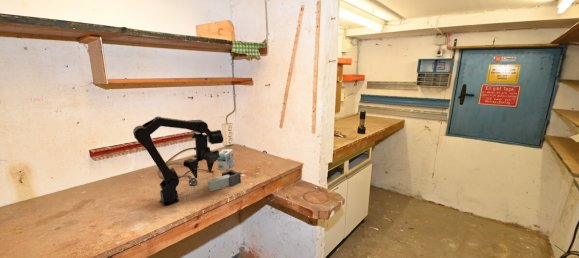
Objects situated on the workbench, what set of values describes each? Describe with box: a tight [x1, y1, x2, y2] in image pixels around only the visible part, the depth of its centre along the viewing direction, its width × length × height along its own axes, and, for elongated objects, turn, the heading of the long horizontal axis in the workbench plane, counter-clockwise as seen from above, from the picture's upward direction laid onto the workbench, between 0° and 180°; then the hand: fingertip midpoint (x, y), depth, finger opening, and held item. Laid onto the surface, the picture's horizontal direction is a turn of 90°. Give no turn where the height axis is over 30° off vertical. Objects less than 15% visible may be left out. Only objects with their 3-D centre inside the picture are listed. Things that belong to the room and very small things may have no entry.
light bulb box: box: [217, 148, 235, 171], centre depth 165 cm, size 11×7×11 cm, turn 168°
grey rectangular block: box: [207, 175, 230, 192], centre depth 138 cm, size 12×4×5 cm, turn 130°
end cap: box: [221, 169, 242, 187], centre depth 143 cm, size 6×8×6 cm
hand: (203, 175), depth 130 cm, fingers open, 9 cm apart
